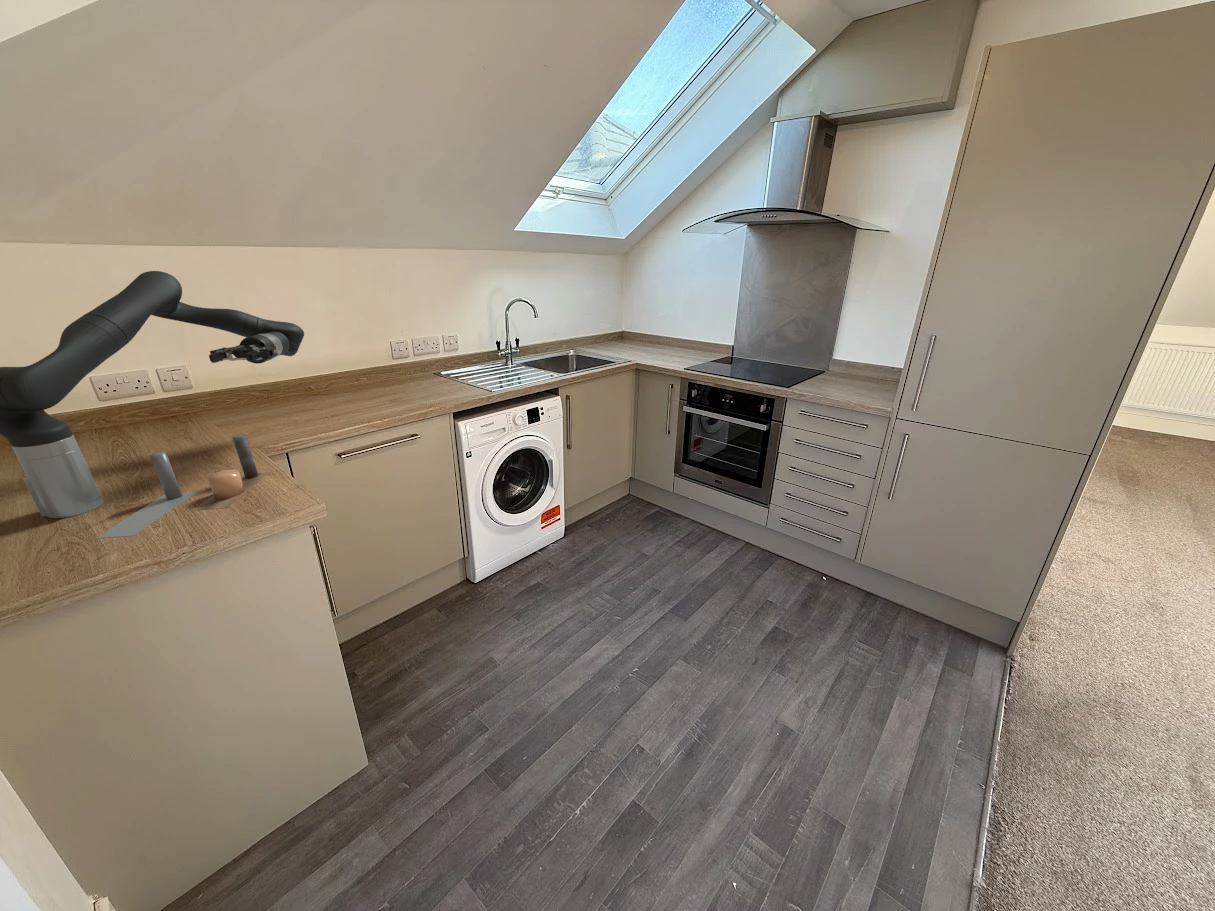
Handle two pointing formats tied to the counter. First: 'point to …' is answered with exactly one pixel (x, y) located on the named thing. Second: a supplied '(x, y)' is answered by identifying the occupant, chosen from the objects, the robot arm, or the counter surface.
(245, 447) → the peg on wooden base
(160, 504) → the grey peg stand
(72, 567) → the counter surface
